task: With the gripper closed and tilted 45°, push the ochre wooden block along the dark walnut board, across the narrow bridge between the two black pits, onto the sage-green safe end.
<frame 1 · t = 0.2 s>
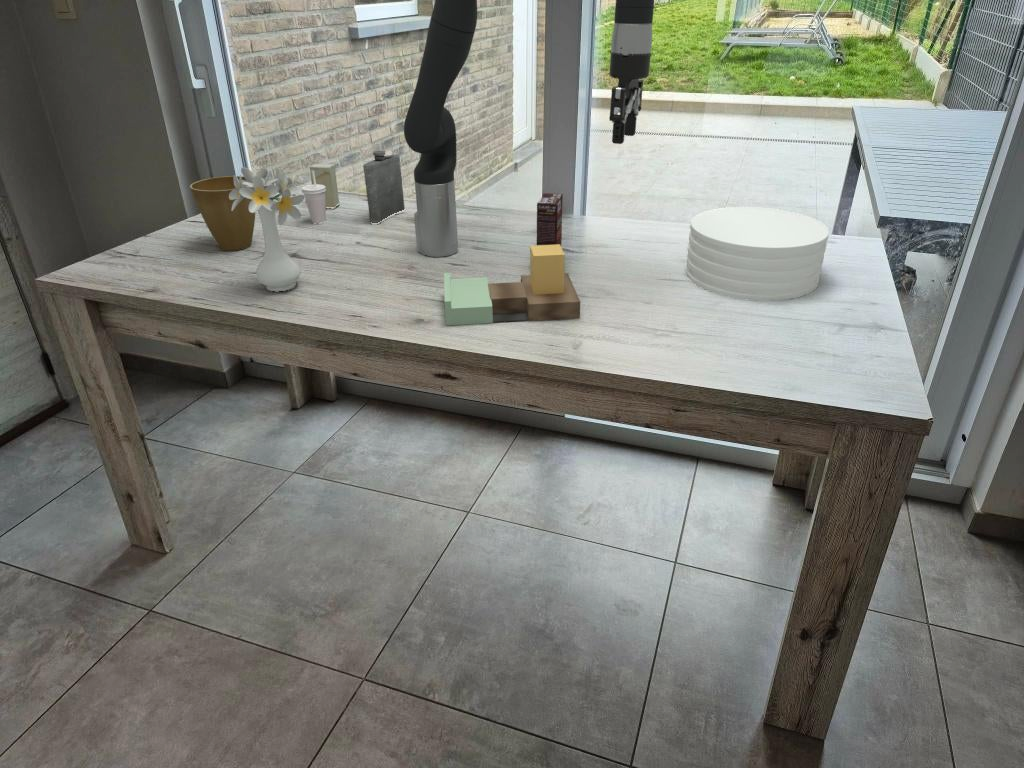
hand: (623, 139, 140), 29 cm above the table, tool pointing down, fingers open, 8 cm apart
plate stack: (749, 277, 155), on the table
flask: (386, 218, 197), on the table
supplement box: (549, 267, 161), on the table
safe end: (468, 308, 142), on the table
smoothie: (319, 223, 194), on the table
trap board: (510, 306, 142), on the table
plant pot: (237, 246, 178), on the table
skincare box: (328, 207, 207), on the table
flower vase: (285, 287, 154), on the table
block: (546, 288, 141), point 3 cm above the table, touching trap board
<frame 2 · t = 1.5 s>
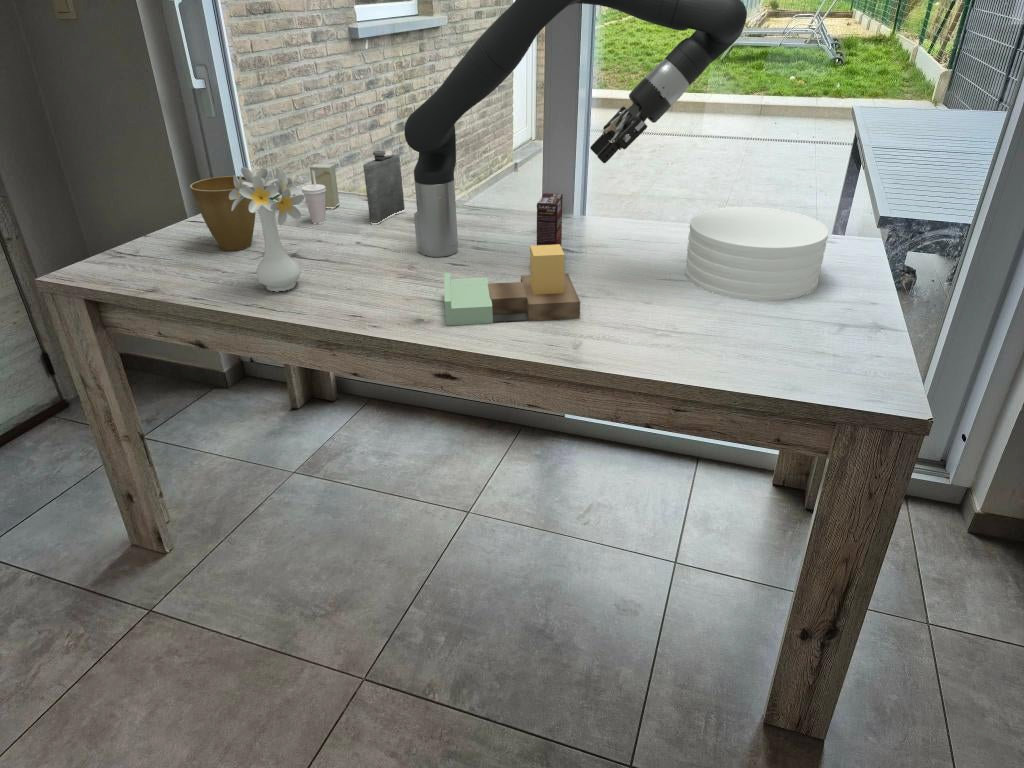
hand: (596, 155, 140), 27 cm above the table, tool tilted 45°, fingers open, 7 cm apart
nothing on the table moved.
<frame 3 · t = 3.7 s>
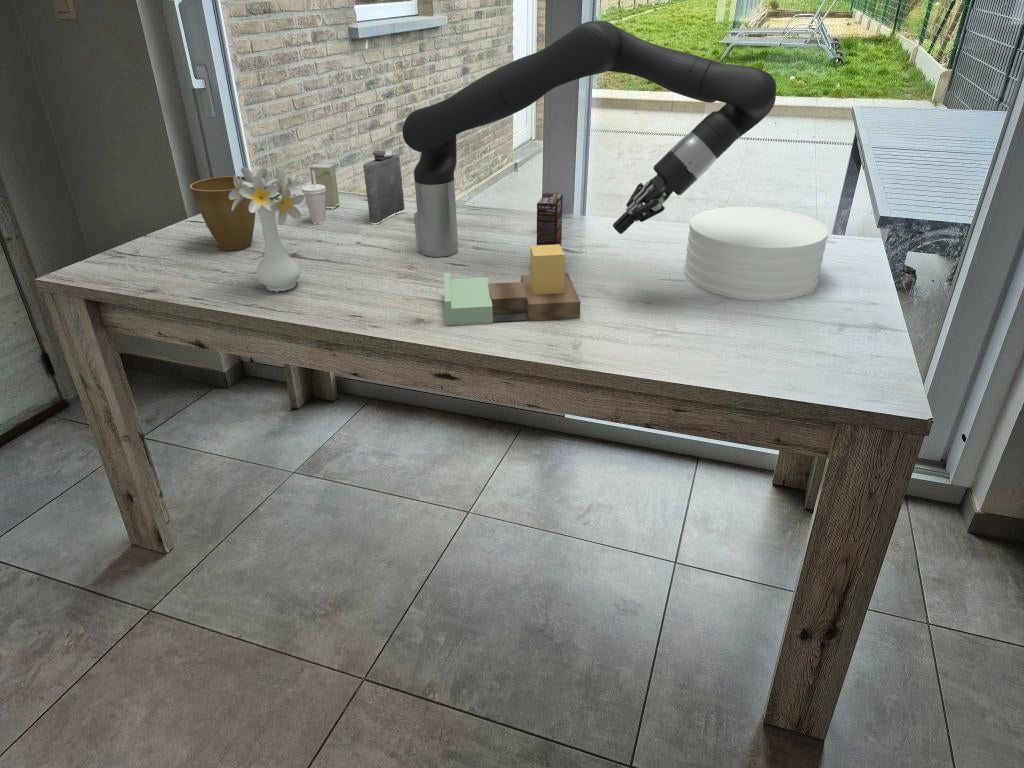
hand: (616, 230, 136), 15 cm above the table, tool tilted 45°, fingers closed
nothing on the table moved.
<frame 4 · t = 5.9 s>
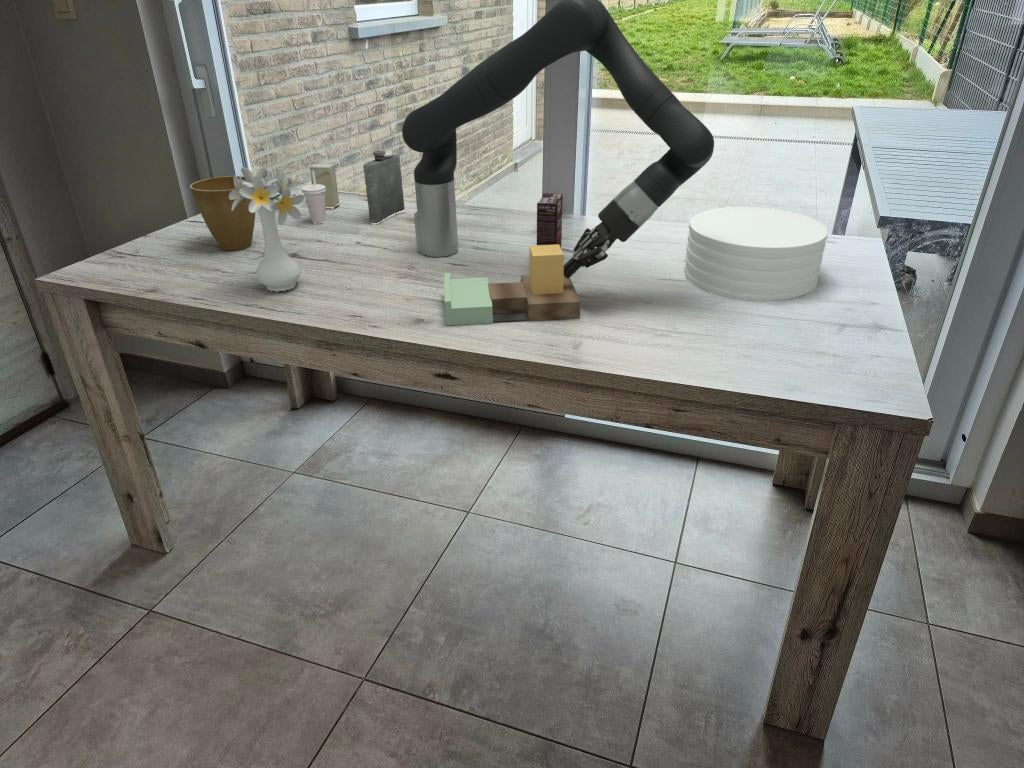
hand: (563, 274, 140), 6 cm above the table, tool tilted 45°, fingers closed
block: (546, 288, 141), point 4 cm above the table, touching gripper
everything else where it was.
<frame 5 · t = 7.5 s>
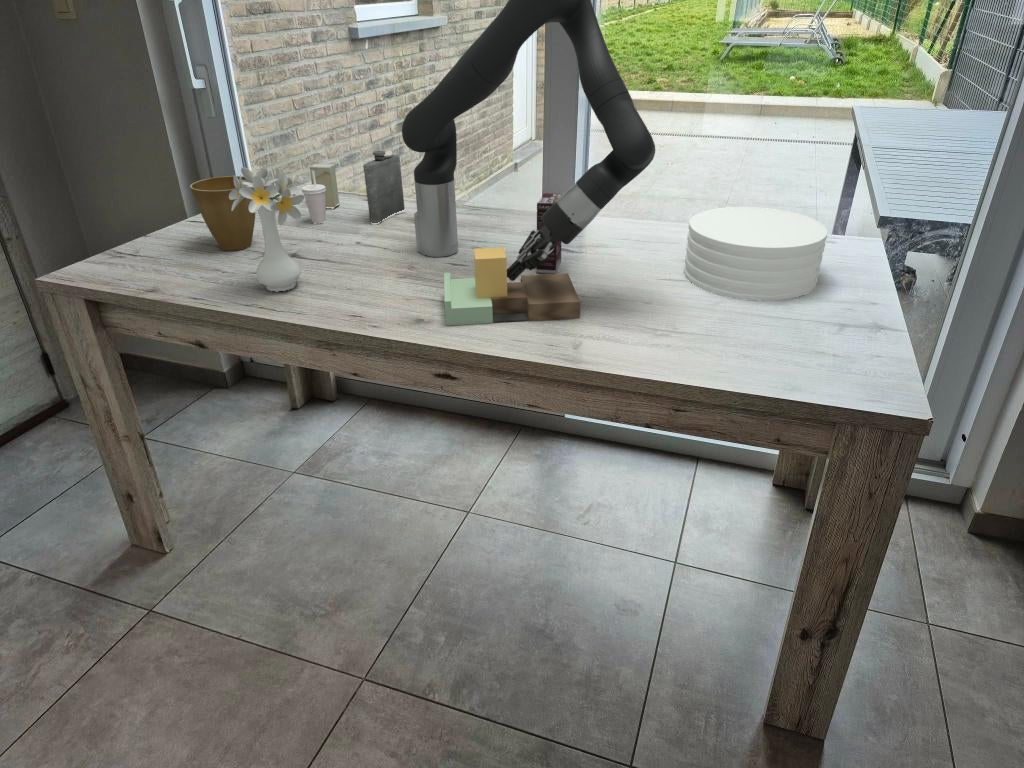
hand: (508, 277, 139), 6 cm above the table, tool tilted 45°, fingers closed
block: (491, 291, 140), point 4 cm above the table
everything else where it was.
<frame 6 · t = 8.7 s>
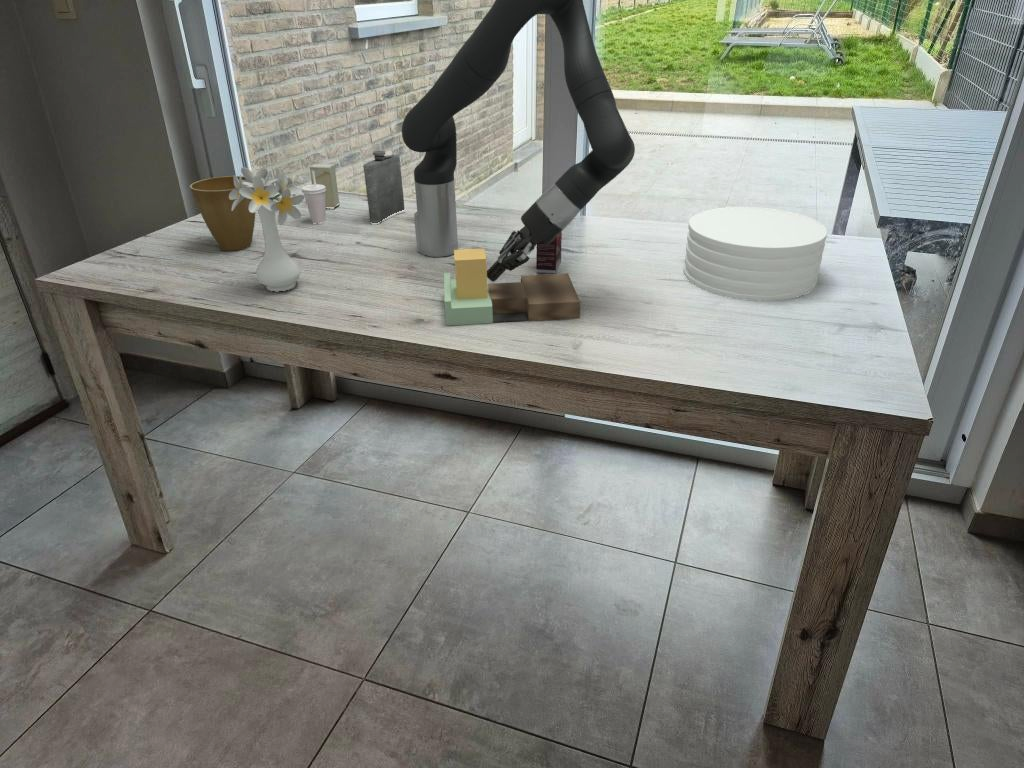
hand: (489, 277, 139), 6 cm above the table, tool tilted 45°, fingers closed
block: (471, 292, 140), point 3 cm above the table, touching gripper, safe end
everything else where it was.
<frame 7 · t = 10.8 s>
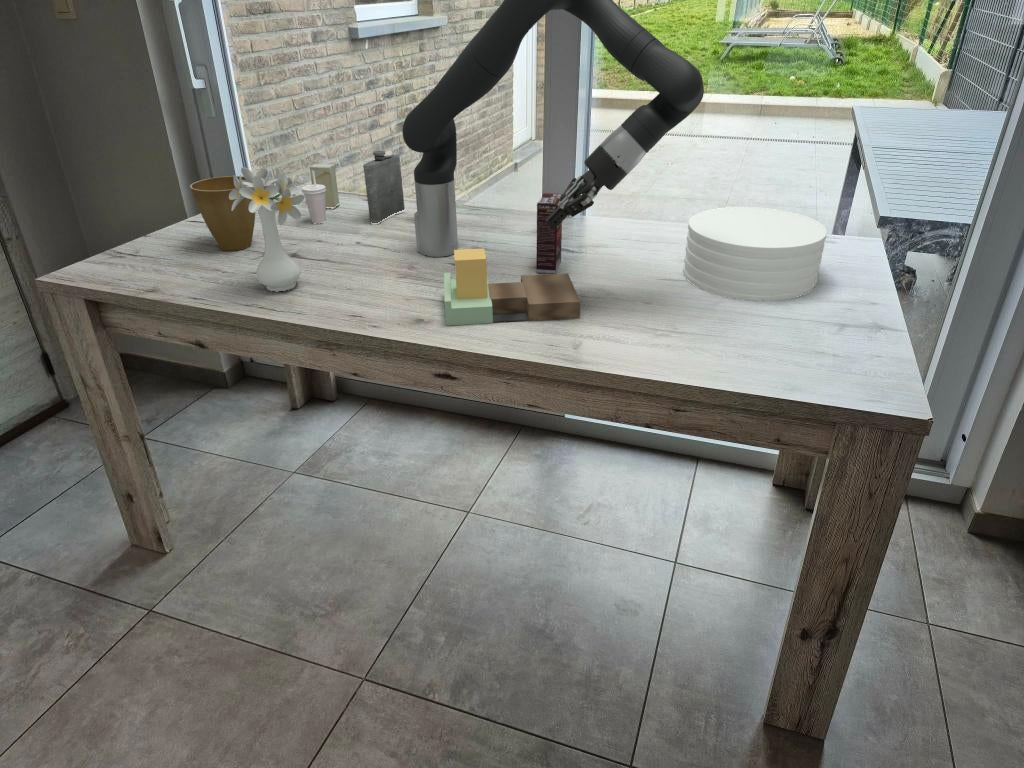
hand: (549, 225, 136), 16 cm above the table, tool tilted 45°, fingers closed
block: (471, 292, 140), point 3 cm above the table, touching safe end
everything else where it was.
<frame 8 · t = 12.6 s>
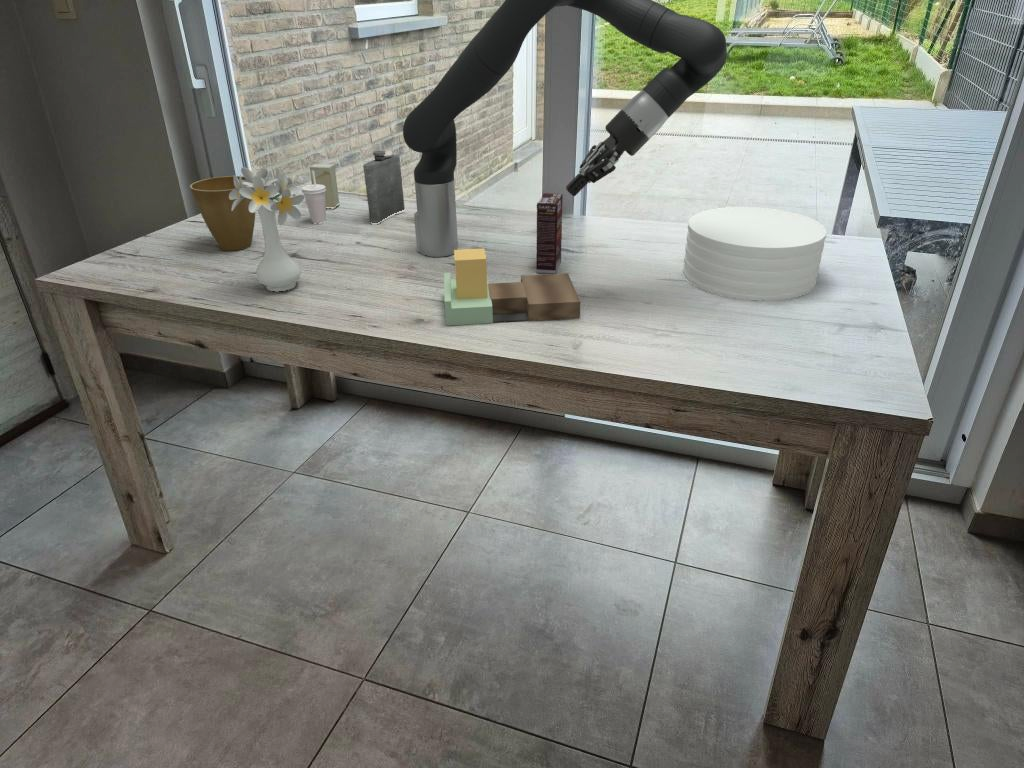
hand: (569, 192, 135), 22 cm above the table, tool tilted 45°, fingers closed
nothing on the table moved.
at the end: block 0.9 cm from the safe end (horizontally); block tilted 0°; block point 3.5 cm above the table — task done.
